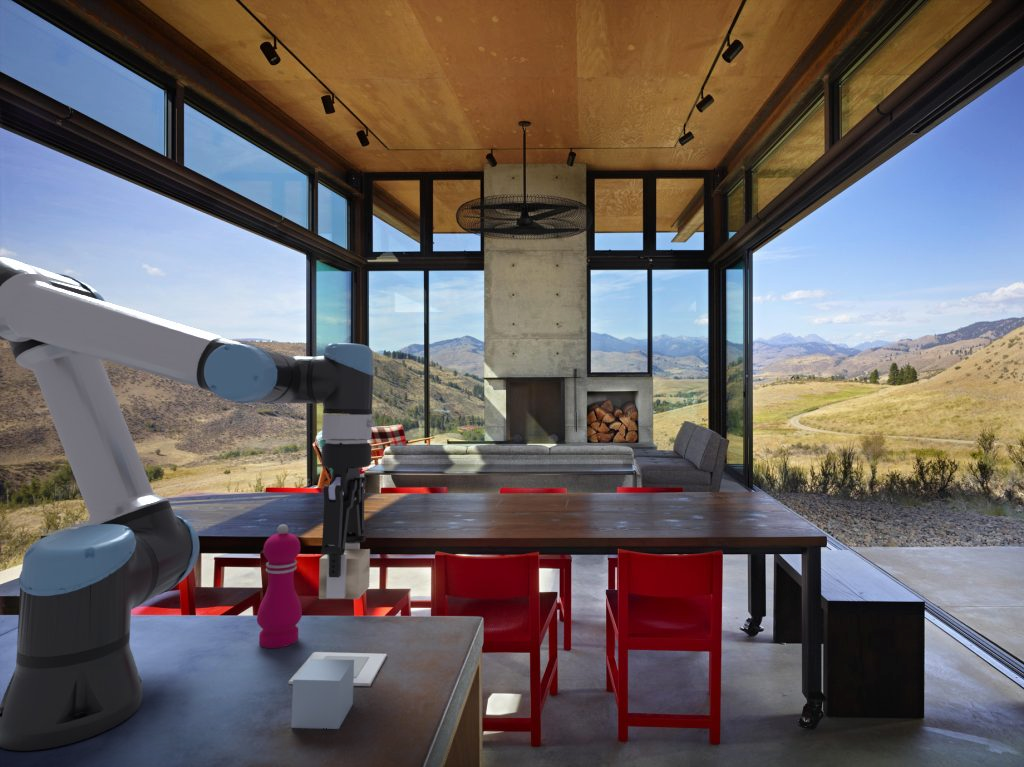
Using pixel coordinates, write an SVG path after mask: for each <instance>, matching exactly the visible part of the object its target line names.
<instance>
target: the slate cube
mask: <svg viewBox="0 0 1024 767" xmlns="http://www.w3.org/2000/svg"><path fill="white" fill-rule="evenodd" d="M353 680H354V660H336V659H310V660H309V662H308V663H307V664H306V665H305V666H304V667H303V669H302V670H301V671H300V672H299V673H298V674H297V676H296V677H295V678H294V679H293V684H292V697H291V698H292V699H291V700H292V704H291V724H290V725H291V726H290V727H291V728H292V729H322V730H323V728H324V729H326V728H327V729H329V730H331V729H332V730H333V729H334V730H338V729H340V727H341V725H342V724H343V722H344V720H345V718H346V717H347V715H348V713H349V712H350V710H351V708H352V706H353V703H354V686H353ZM327 729H326V730H327Z"/></svg>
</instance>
